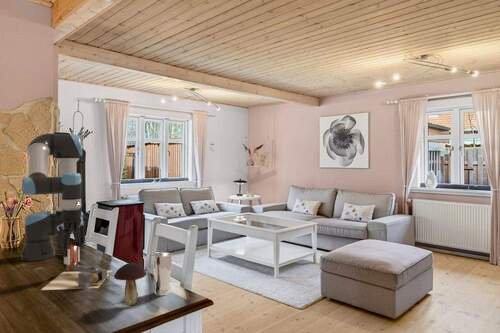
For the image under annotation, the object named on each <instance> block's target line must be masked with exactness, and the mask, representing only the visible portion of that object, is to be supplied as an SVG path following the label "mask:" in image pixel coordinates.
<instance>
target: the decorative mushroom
mask: <svg viewBox="0 0 500 333" xmlns="http://www.w3.org/2000/svg"><path fill="white" fill-rule="evenodd" d="M147 275H148V273H147V271H146V270H145V268H143V267H142V266H141V265H140V264H138V263H135V262H127V263H126V264H123V265H122V266H121V267H119V268H118V269H117V270H116V271H115V273H114V275H113V278H114V279H115V280H118V281H125V286H124V296H123V298H124V303H125V305H127V306H133V305H135V304H136V303H137V300H138V288H137V287H138V286H137V282H136V280H139V279H142V278H144V277H146V276H147Z"/></svg>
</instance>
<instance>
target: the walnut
mask: <svg viewBox="0 0 500 333" xmlns="http://www.w3.org/2000/svg"><path fill="white" fill-rule="evenodd" d="M98 279H99V276H98V275H97V274H96V273H92V283H96V282H97V281H98Z"/></svg>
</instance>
